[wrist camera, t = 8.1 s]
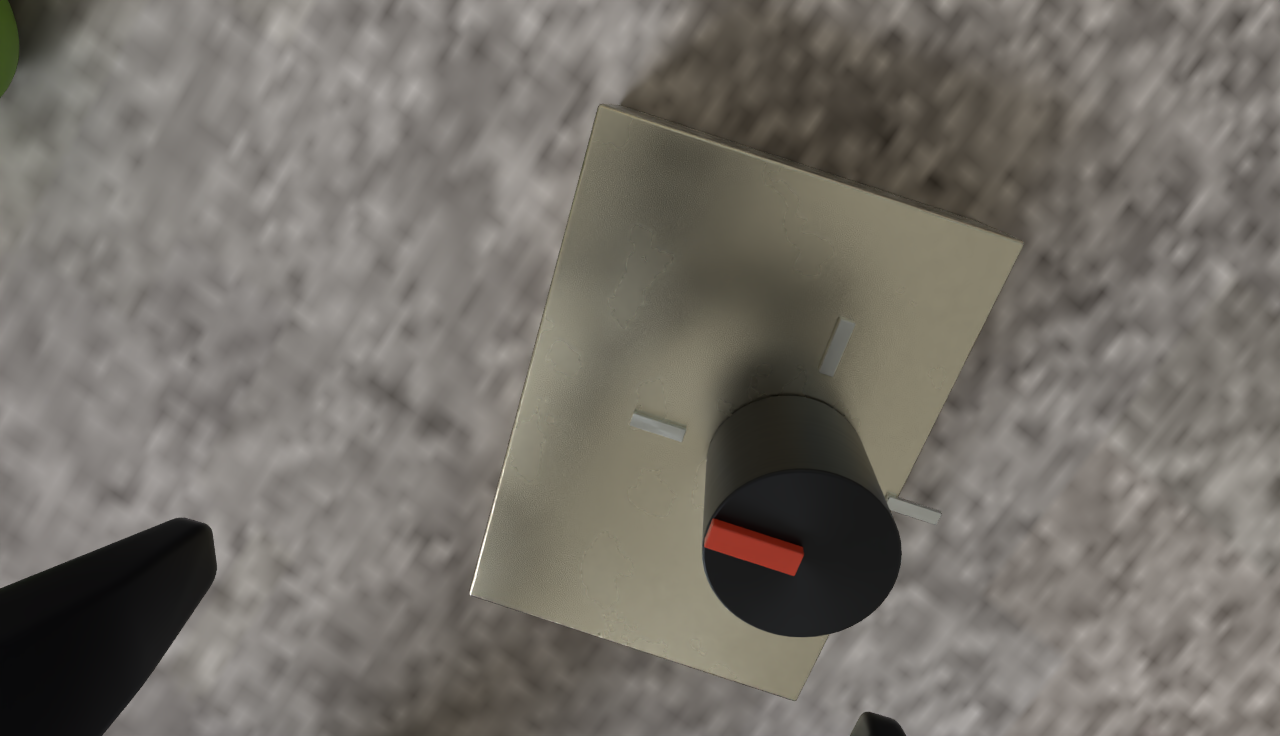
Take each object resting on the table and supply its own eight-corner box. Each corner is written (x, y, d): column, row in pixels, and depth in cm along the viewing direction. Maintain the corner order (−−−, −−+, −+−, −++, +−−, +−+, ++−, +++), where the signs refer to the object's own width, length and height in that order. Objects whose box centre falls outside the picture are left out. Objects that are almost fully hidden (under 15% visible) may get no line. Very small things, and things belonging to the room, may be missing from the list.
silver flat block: (819, 643, 24) (833, 719, 21) (497, 538, 24) (465, 599, 21) (1022, 235, 19) (1077, 259, 16) (617, 103, 19) (597, 102, 16)
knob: (891, 423, 18) (941, 515, 14) (830, 554, 19) (857, 672, 15) (736, 373, 18) (739, 450, 14) (686, 508, 19) (675, 613, 15)
